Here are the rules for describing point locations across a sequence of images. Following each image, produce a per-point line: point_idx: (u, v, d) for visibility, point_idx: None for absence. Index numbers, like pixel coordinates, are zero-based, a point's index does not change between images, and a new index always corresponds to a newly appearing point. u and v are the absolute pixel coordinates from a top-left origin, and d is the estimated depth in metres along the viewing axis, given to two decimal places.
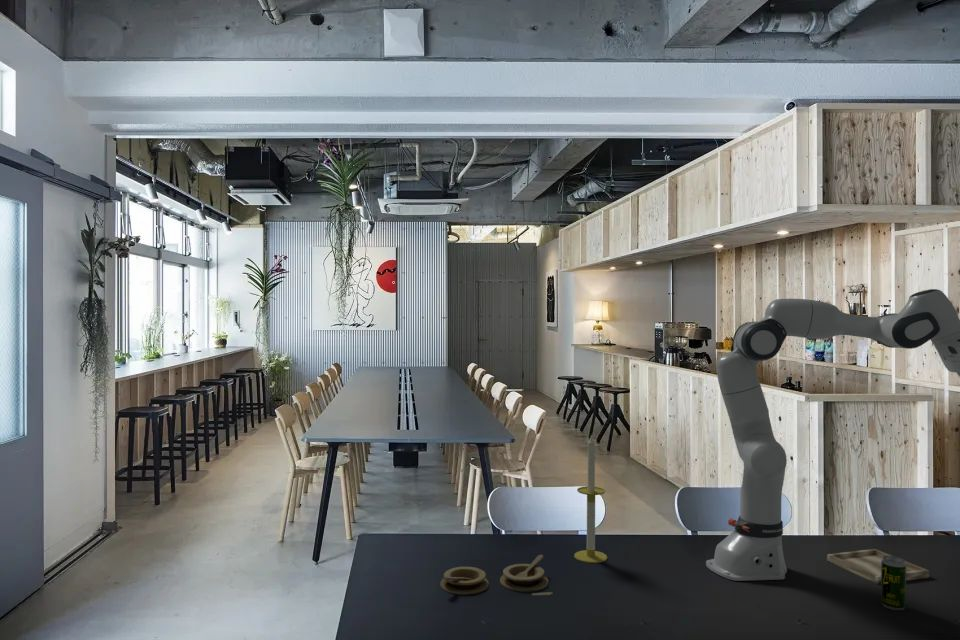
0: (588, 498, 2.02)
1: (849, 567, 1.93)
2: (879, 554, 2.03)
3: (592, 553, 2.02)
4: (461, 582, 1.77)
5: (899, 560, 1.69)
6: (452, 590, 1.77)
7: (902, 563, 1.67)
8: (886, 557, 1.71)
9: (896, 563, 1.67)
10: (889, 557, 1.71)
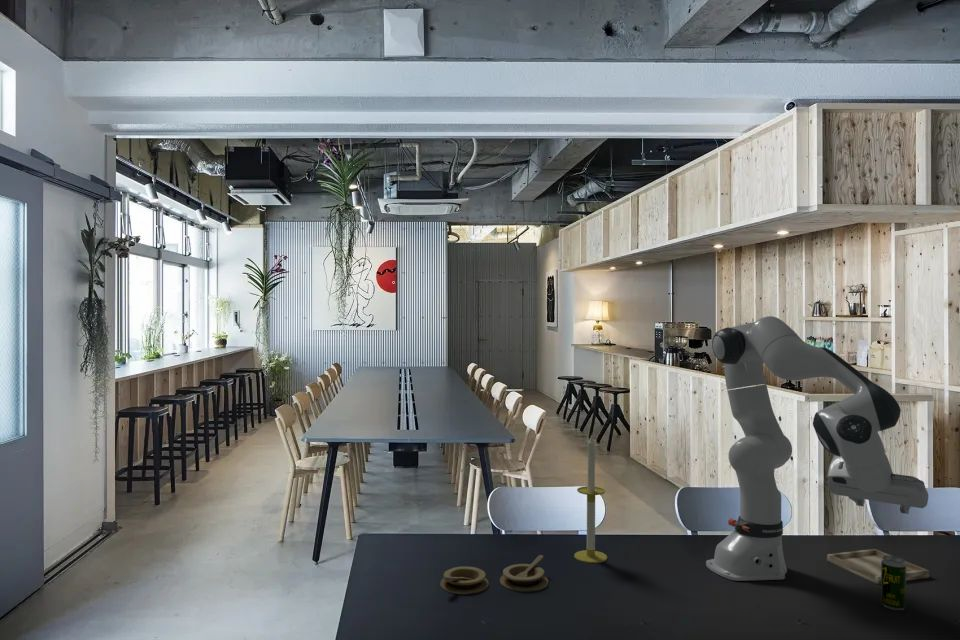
0: (588, 498, 2.02)
1: (849, 567, 1.93)
2: (879, 554, 2.03)
3: (592, 553, 2.02)
4: (461, 582, 1.77)
5: (899, 560, 1.69)
6: (452, 590, 1.77)
7: (902, 563, 1.67)
8: (886, 557, 1.71)
9: (896, 563, 1.67)
10: (889, 557, 1.71)
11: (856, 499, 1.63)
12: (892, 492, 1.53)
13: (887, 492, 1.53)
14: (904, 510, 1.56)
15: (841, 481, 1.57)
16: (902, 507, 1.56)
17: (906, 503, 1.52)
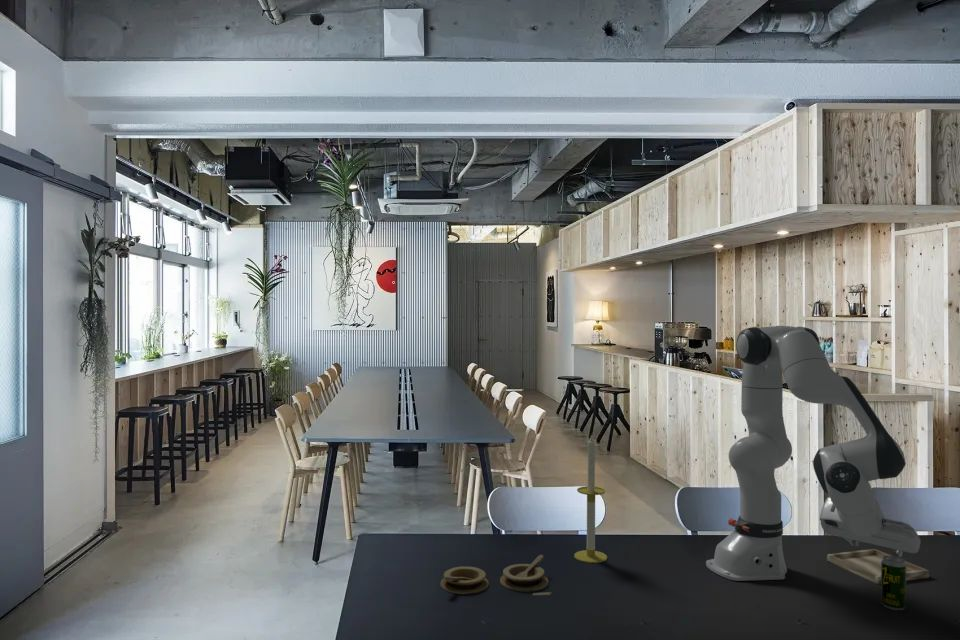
0: (588, 498, 2.02)
1: (849, 567, 1.93)
2: (879, 554, 2.03)
3: (592, 553, 2.02)
4: (461, 582, 1.77)
5: (899, 560, 1.69)
6: (452, 590, 1.77)
7: (902, 563, 1.67)
8: (886, 557, 1.71)
9: (895, 563, 1.67)
10: (889, 557, 1.71)
11: (850, 539, 1.64)
12: (884, 537, 1.53)
13: (879, 536, 1.54)
14: (897, 553, 1.56)
15: (833, 524, 1.58)
16: (895, 550, 1.57)
17: (898, 548, 1.53)
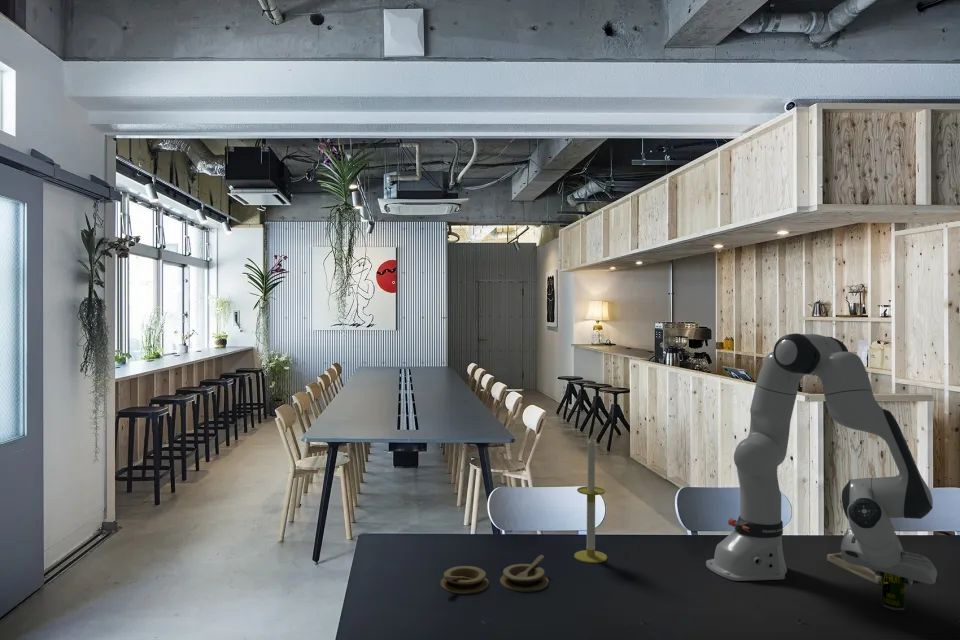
0: (588, 498, 2.02)
1: (849, 567, 1.93)
2: None
3: (592, 553, 2.02)
4: (461, 581, 1.77)
5: None
6: (452, 589, 1.78)
7: None
8: None
9: None
10: None
11: (875, 570, 1.71)
12: (902, 568, 1.62)
13: (897, 567, 1.63)
14: (908, 581, 1.66)
15: (853, 554, 1.66)
16: (906, 578, 1.67)
17: (916, 579, 1.61)
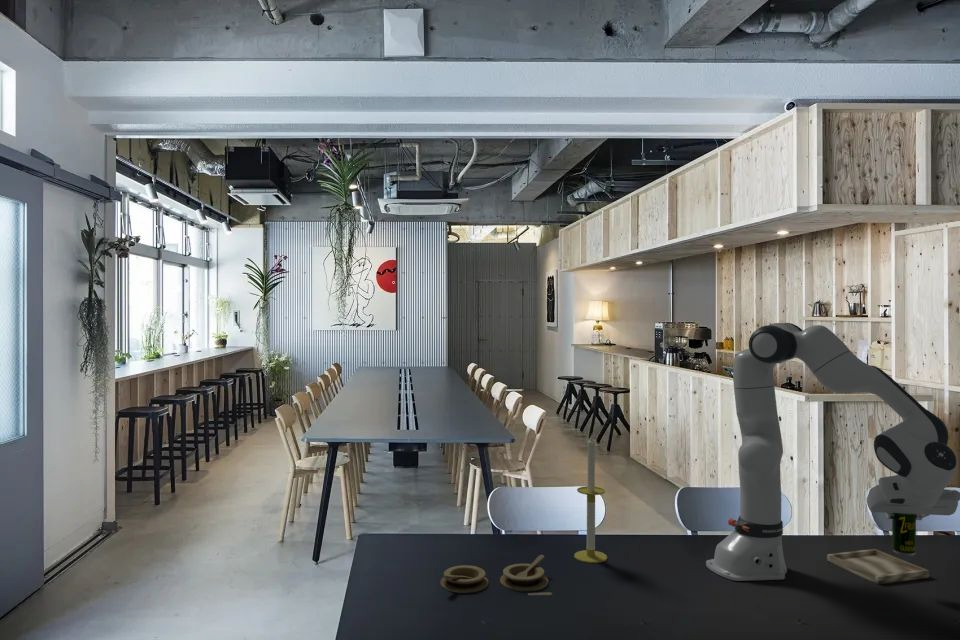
0: (588, 498, 2.02)
1: (849, 567, 1.93)
2: (879, 554, 2.03)
3: (592, 553, 2.02)
4: (460, 580, 1.78)
5: None
6: (451, 588, 1.78)
7: None
8: None
9: None
10: None
11: (890, 513, 1.78)
12: (932, 505, 1.71)
13: None
14: (920, 517, 1.77)
15: (898, 501, 1.69)
16: (918, 515, 1.78)
17: (939, 513, 1.73)
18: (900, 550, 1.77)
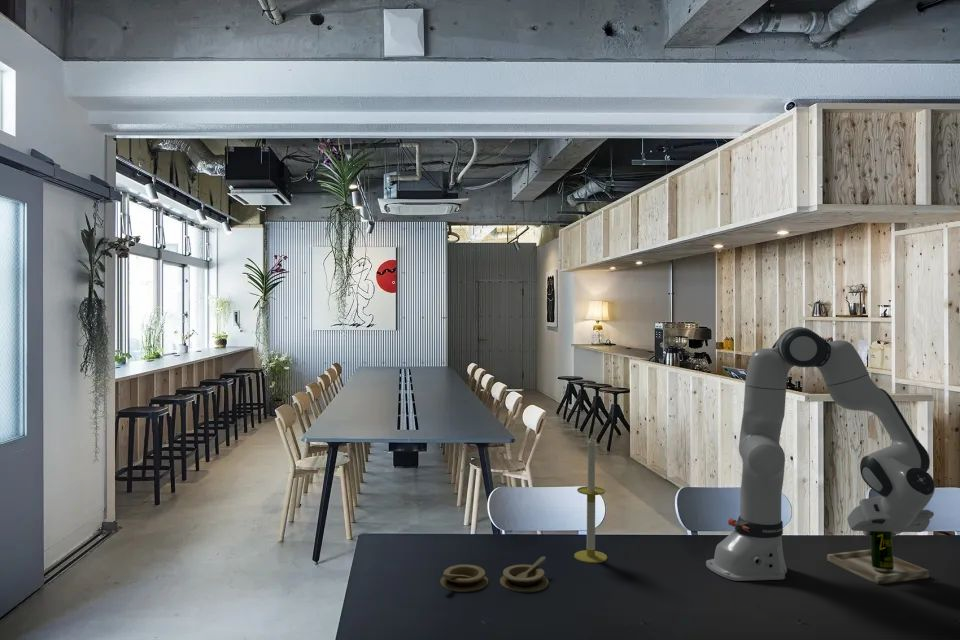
0: (588, 498, 2.02)
1: (849, 567, 1.93)
2: None
3: (592, 553, 2.02)
4: (458, 579, 1.79)
5: None
6: (450, 587, 1.79)
7: None
8: None
9: None
10: None
11: (868, 531, 1.92)
12: None
13: None
14: (894, 534, 1.92)
15: (879, 521, 1.83)
16: (892, 532, 1.92)
17: (912, 530, 1.88)
18: (880, 566, 1.89)
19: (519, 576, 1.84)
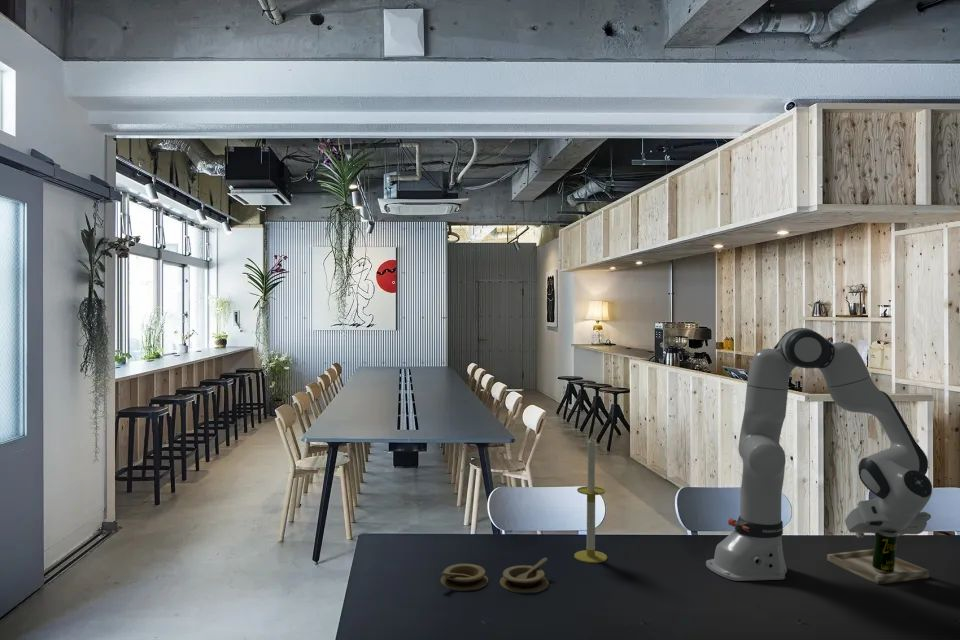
0: (588, 498, 2.02)
1: (849, 567, 1.93)
2: None
3: (592, 553, 2.02)
4: (457, 578, 1.80)
5: None
6: (448, 585, 1.80)
7: (896, 531, 1.89)
8: None
9: (895, 533, 1.88)
10: None
11: (860, 533, 1.93)
12: None
13: None
14: None
15: (877, 523, 1.84)
16: None
17: (909, 532, 1.89)
18: (880, 568, 1.89)
19: (519, 577, 1.83)
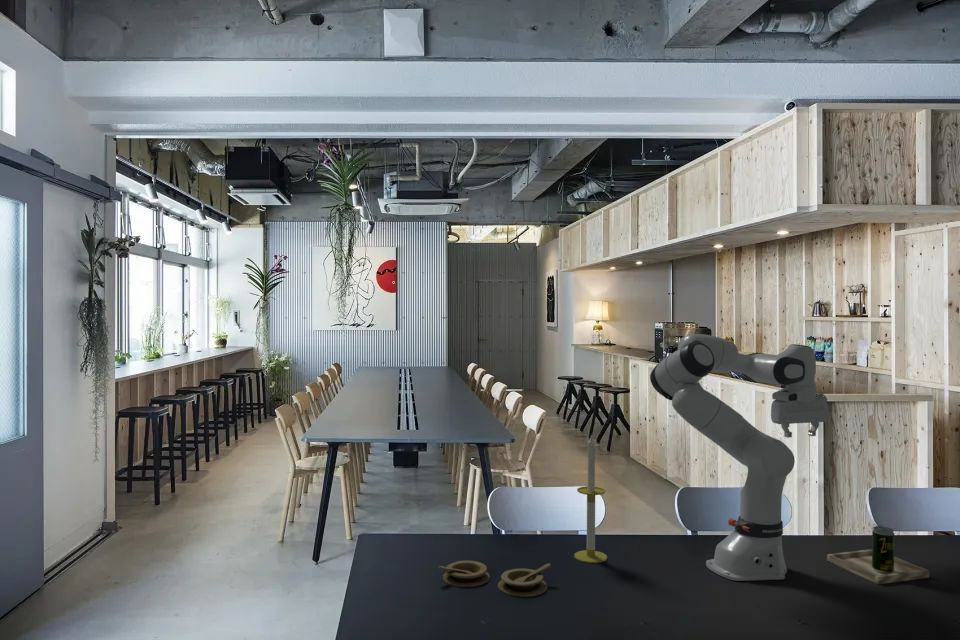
0: (588, 498, 2.02)
1: (849, 567, 1.93)
2: None
3: (592, 553, 2.02)
4: (454, 574, 1.83)
5: (887, 528, 1.91)
6: (447, 580, 1.84)
7: None
8: (877, 528, 1.91)
9: (891, 531, 1.89)
10: (877, 528, 1.92)
11: None
12: (814, 408, 2.18)
13: (811, 409, 2.17)
14: (814, 431, 2.19)
15: (793, 398, 2.13)
16: (812, 430, 2.19)
17: (820, 418, 2.18)
18: (880, 569, 1.89)
19: (518, 580, 1.82)
